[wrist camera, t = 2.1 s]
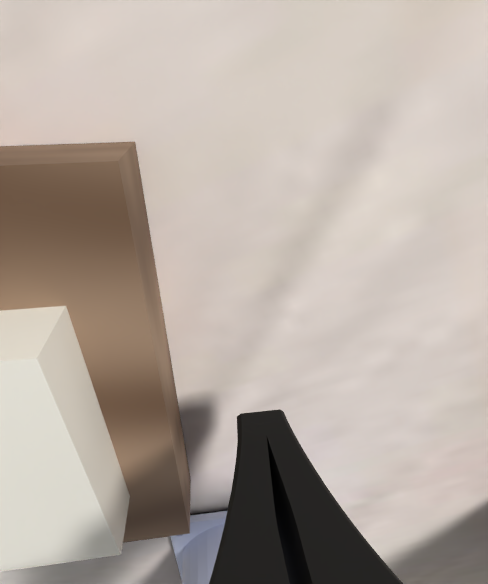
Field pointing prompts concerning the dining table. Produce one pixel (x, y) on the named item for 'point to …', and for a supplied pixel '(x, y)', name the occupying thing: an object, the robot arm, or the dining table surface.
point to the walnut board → (101, 306)
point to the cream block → (53, 448)
